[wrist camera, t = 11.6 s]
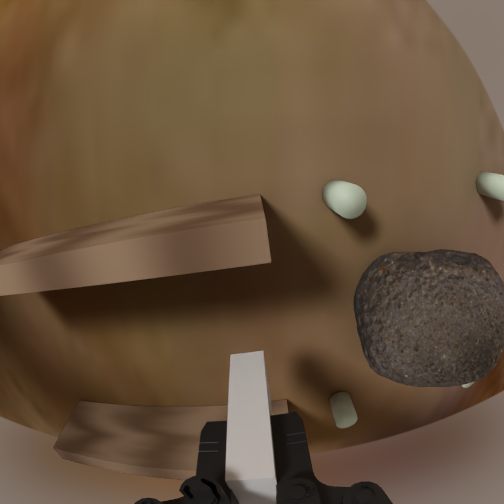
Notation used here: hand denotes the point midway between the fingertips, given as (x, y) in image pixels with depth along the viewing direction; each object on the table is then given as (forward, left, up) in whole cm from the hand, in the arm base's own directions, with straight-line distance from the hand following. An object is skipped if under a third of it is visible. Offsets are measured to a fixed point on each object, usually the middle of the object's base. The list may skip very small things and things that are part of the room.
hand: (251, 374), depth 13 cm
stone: (+11, 0, -5) cm, 12 cm away
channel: (-7, 0, -4) cm, 9 cm away
